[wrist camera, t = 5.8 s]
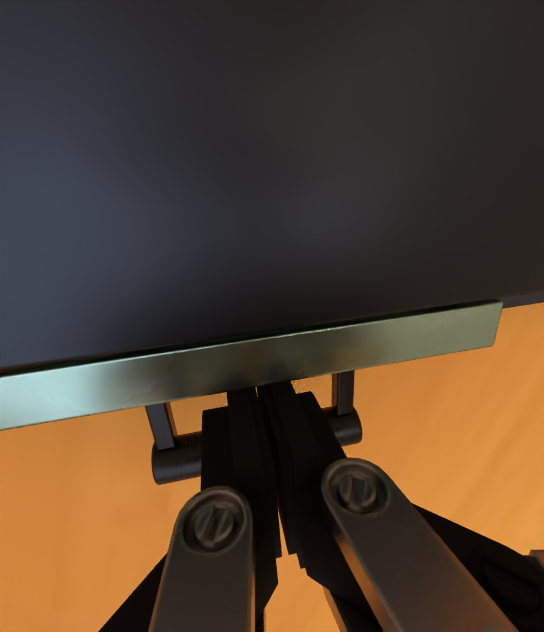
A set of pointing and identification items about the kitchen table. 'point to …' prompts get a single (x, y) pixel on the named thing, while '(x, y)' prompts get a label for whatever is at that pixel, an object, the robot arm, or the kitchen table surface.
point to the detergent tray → (238, 373)
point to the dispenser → (261, 166)
